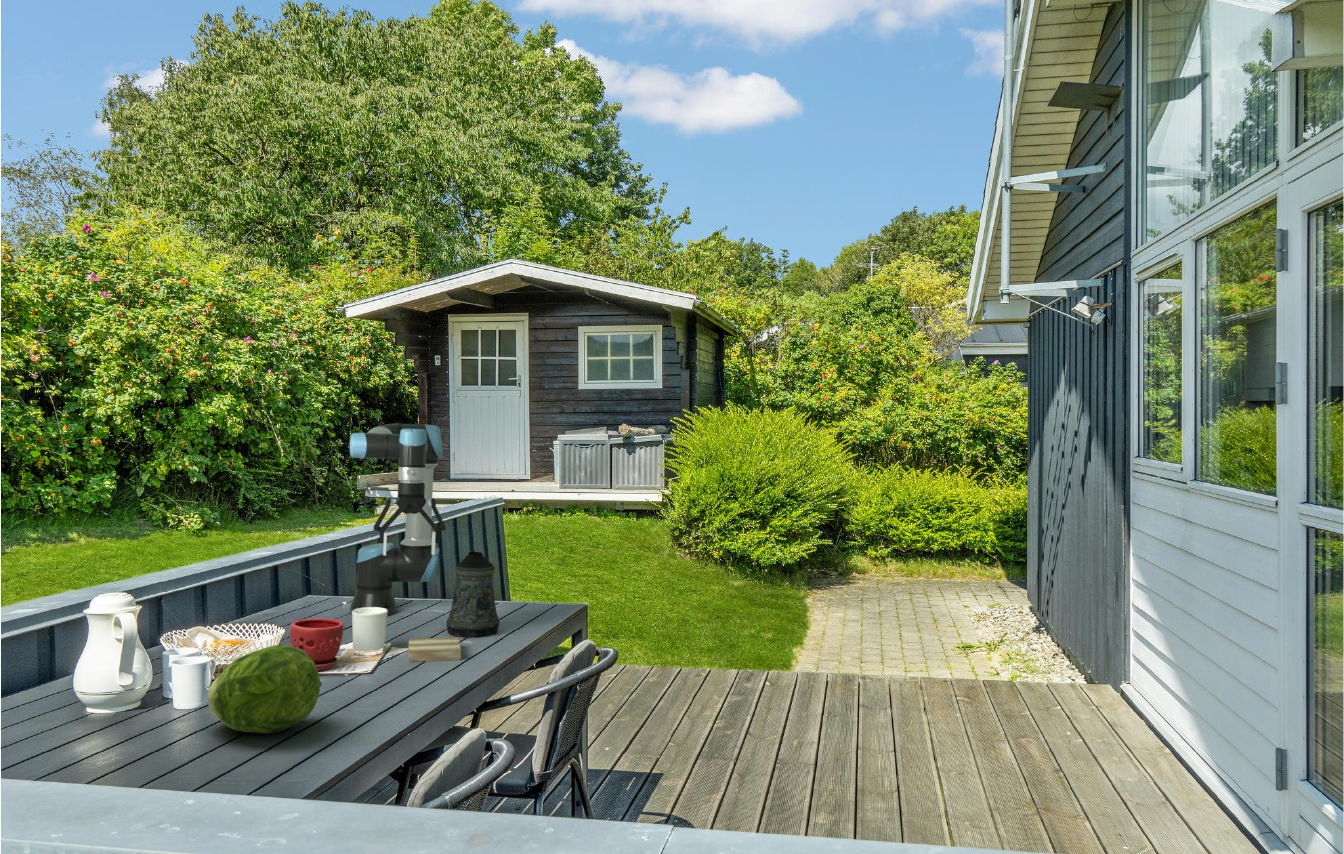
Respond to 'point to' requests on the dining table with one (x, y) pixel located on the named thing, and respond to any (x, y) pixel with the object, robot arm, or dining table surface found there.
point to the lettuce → (266, 690)
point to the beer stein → (473, 599)
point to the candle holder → (369, 628)
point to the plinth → (434, 649)
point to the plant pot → (318, 640)
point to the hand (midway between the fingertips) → (409, 554)
